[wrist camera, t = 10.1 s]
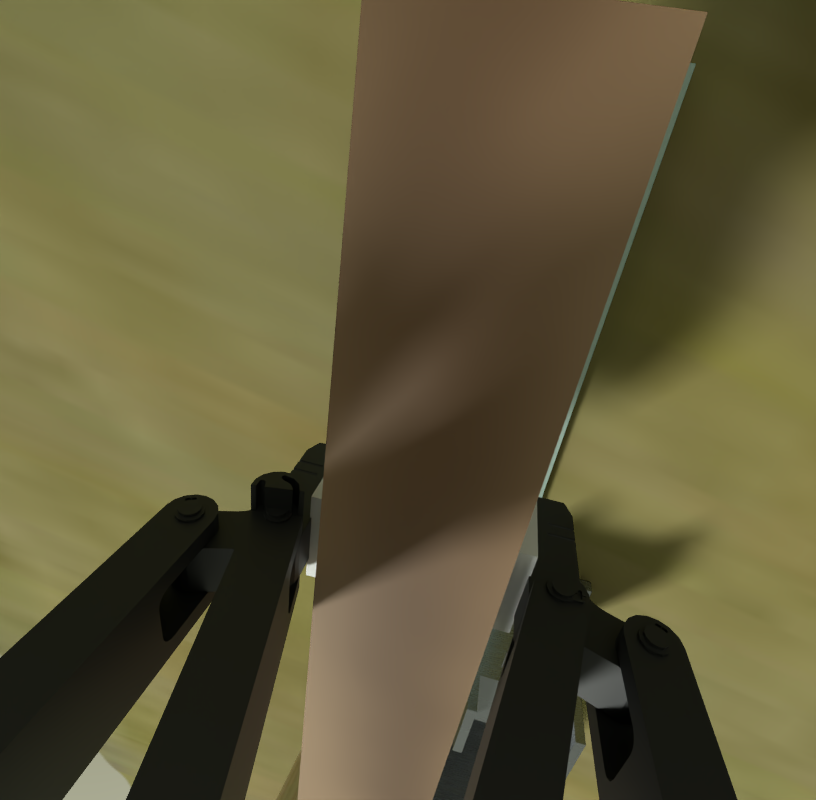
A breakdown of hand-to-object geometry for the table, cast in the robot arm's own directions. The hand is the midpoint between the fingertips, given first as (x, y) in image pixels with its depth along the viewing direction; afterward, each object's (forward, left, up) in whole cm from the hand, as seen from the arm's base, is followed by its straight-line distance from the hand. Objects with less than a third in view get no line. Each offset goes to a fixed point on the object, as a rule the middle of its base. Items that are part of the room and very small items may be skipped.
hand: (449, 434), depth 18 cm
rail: (0, 0, +2) cm, 2 cm away
